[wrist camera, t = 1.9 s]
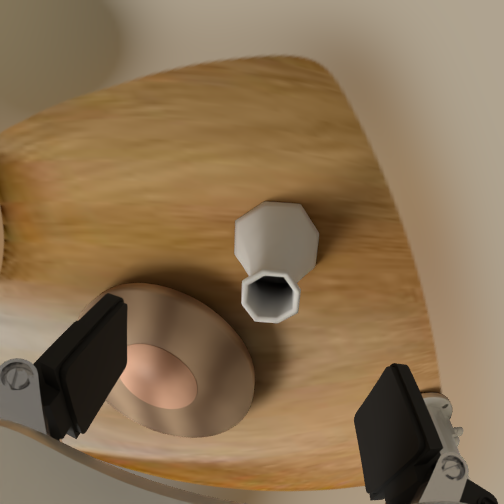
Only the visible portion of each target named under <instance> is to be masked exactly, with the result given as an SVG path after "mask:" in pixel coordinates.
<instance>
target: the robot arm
mask: <svg viewBox="0 0 504 504" xmlns="http://www.w3.org/2000/svg"><path fill="white" fill-rule="evenodd" d="M127 312H128V306H127V304H126V303H124V300H123V298H122V297H119V296H116V295H113V294H110V293H107V294H105V295H104V296H103V297H102V298H101V299H100V300H99V301H98V302H97V303H96V304H95V305H94V306H93V307H92V308H91V309H90V310H89V311H88V312H87V313H86V314H85V315H84V316H83V317H81V318H80V319H79V320H78V321H76V322H74V323H73V324H72V325H71V326H70V327H69V328H68V329H67V330H66V331H65V332H64V333H63V334H62V335H61V336H60V337H59V338H58V339H57V340H56V341H55V342H54V343H53V344H52V345H51V346H50V347H49V348H48V349H47V350H46V351H45V352H44V353H43V355H42V356H41V357H40V358H39V359H38V360H37V361H36V362H35V363H34V364H32V363H31V362H29V361H27V360H24V359H18V358H16V359H10V360H8V361H6V362H4V363H3V364H2V365H0V504H246V503H239V502H234V501H228V500H223V499H218V498H214V497H209V496H204V495H200V494H196V493H192V492H188V491H185V490H181V489H177V488H173V487H170V486H167V485H164V484H161V483H157V482H154V481H151V480H148V479H146V478H143V477H140V476H137V475H135V474H132V473H129V472H127V471H124V470H122V469H119V468H116V467H114V466H112V465H109V464H107V463H105V462H102V461H100V460H98V459H95V458H93V457H91V456H89V455H87V454H85V453H83V452H80V451H78V450H76V449H74V448H72V447H70V446H68V445H66V444H64V443H62V440H61V439H63V438H64V436H65V435H66V434H68V435H70V436H71V437H73V438H75V439H77V437H78V436H79V434H80V433H82V434H84V433H85V432H86V431H87V429H88V428H89V426H90V424H91V423H92V421H93V419H94V418H95V416H96V415H97V413H98V411H99V410H100V408H101V406H102V405H103V403H104V401H105V400H106V398H107V397H108V395H109V393H110V392H111V390H112V389H113V387H114V385H115V384H116V382H117V381H118V379H119V377H120V376H121V374H122V373H123V371H124V370H125V368H126V365H127ZM451 415H452V406H451V403H450V401H449V399H448V398H447V397H446V396H444V395H443V394H440V393H422V394H421V393H420V390H419V388H418V386H417V384H416V382H415V379H414V377H413V375H412V373H411V371H410V369H409V367H408V366H407V365H404V364H396V363H393V364H391V365H390V366H389V367H386V369H385V370H384V372H383V373H382V375H381V377H380V378H379V380H378V381H377V383H376V384H375V386H374V387H373V389H372V391H371V392H370V394H369V395H368V397H367V398H366V399H365V401H364V402H363V404H362V405H361V407H360V408H359V410H358V411H357V412H356V414H355V417H354V424H355V429H356V434H357V439H358V445H359V450H360V456H361V462H362V468H363V474H364V481H365V487H366V491H367V493H370V500H382V499H384V498H385V501H386V503H385V504H498V502H497V499H496V498H495V497H494V495H492V494H491V493H490V492H488V491H486V490H485V489H483V488H481V487H480V486H478V485H477V484H475V483H474V482H472V481H470V479H469V476H468V466H467V464H466V461H465V460H464V459H463V458H462V457H461V455H460V453H459V450H458V448H457V446H458V445H459V441H460V440H459V437H458V436H461V435H462V434H463V428H462V427H457V428H456V427H455V428H453V427H452V425H451V422H450V418H451Z"/></svg>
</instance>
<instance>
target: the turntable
mask: <svg viewBox="0 0 504 504" xmlns="http://www.w3.org/2000/svg"><path fill="white" fill-rule="evenodd" d="M107 293H110V294H113V295H116V296H119V297H122V298H123V300H124V303H126V304H127V306H128V312H127V365H126V368H125V370H124V371H123V373H122V374H121V376H120V377H119V379H118V381H117V382H116V384H115V385H114V387H113V389H112V390H111V392H110V393H109V395H108V397H107V398H106V400H105V401H106V402H107V403H108V404H110V405H111V406H112V407H113V408H114V409H116V410H117V411H118V412H120V413H121V414H123V415H124V416H125V417H127V418H129V419H130V420H132V421H134V422H136V423H138V424H140V425H142V426H144V427H146V428H149V429H151V430H154V431H157V432H160V433H163V434H168V435H172V436H178V437H189V438H197V437H207V436H213V435H216V434H220V433H222V432H225V431H227V430H229V429H231V428H232V427H234V426H236V425H237V424H238V423H239V422H240V421H241V420H242V419H243V418H244V417H245V416H246V414H247V413H248V411H249V409H250V407H251V403H252V400H253V394H254V387H255V371H254V366H253V362H252V359H251V356H250V354H249V352H248V350H247V348H246V346H245V344H244V343H243V341H242V340H241V338H240V336H239V335H238V334H237V333H236V332H235V330H234V329H233V328H232V327H231V326H230V325H229V324H228V323H227V322H226V321H225V320H224V319H223V318H222V317H221V316H220V315H218V314H217V313H216V312H214V311H213V310H212V309H211V308H209V307H208V306H206V305H205V304H203V303H201V302H200V301H198V300H197V299H195V298H193V297H190V296H188V295H186V294H184V293H182V292H179V291H177V290H174V289H171V288H168V287H164V286H160V285H156V284H148V283H128V284H122V285H118V286H115V287H112V288H109V289H108V290H106V291H104V292H102V293H101V294H100V295H99V296H97V297H96V298H95V299H94V300H93V301H91V302H90V303H89V304H88V305H87V306H86V307H85V308H84V309H83V311H82V312H81V314H80V316H79V318H78V320H79V319H80V318H81V317H83V316H84V315H85V314H86V313H87V312H88V311H89V310H90V309H91V308H92V307H93V306H94V305H95V304H96V303H97V302H98V301H99V300H100V299H101V298H102V297H103V296H104V295H105V294H107ZM78 320H77V321H78Z"/></svg>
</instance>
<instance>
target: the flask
mask: <svg viewBox="0 0 504 504" xmlns="http://www.w3.org/2000/svg"><path fill="white" fill-rule="evenodd" d="M318 241H319V232H318V231H317V229H316V227H315V226H314V224H313V223H312V221H311V219H310V218H309V216H308V215H307V213H306V212H305V210H304V208H303V207H302V205H301V204H295V203H282V202H267V201H264V202H263V203H261V204H260V205H258V206H257V207H255V208H254V209H252V210H251V211H249V212H247V213H246V214H244V215H243V216H241V217H240V218H238V219H237V220H235V250H234V254H235V256H236V257H237V259H238V260H239V261H240V263H241V264H242V266H243V267H244V269H245V270H246V272H247V274H248V275H249V277H247V278H245V279H244V280H243V281H242V301H241V304H242V306H243V307H244V308H245V309H246V311H247V312H248V313H249V315H250V316H251V317H252V319H253V320H254V321H256V322H267V323H280V322H281V321H283V320H285V319H287V318H289V317H291V316H293V315H295V314H297V313H298V309H299V301H300V293H301V289H300V288H299V286H298V285H297V283H298V282H299V281H300V280H301V279H302V278H303V277H304V276H305V275H306V274H307V273H308V272H310V271H311V270H312V269H313V268H314V267H315V266H316V258H317V250H318Z"/></svg>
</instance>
